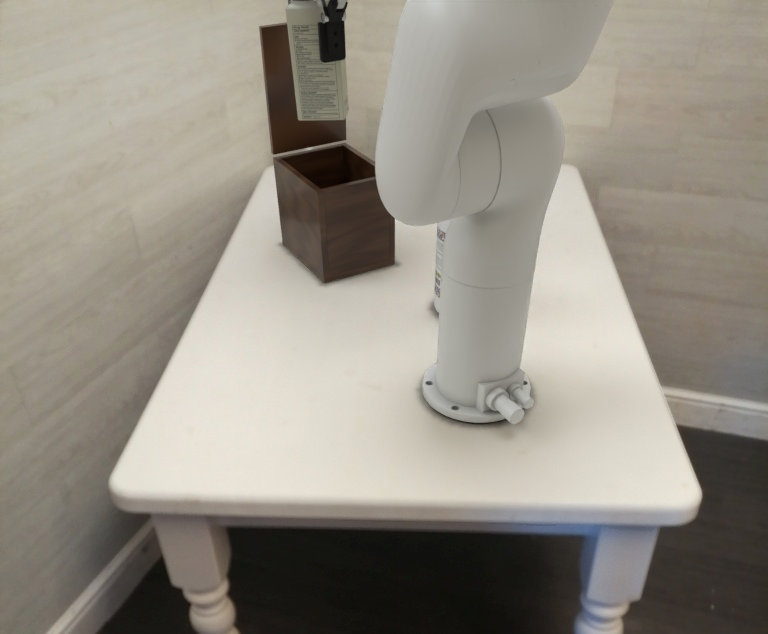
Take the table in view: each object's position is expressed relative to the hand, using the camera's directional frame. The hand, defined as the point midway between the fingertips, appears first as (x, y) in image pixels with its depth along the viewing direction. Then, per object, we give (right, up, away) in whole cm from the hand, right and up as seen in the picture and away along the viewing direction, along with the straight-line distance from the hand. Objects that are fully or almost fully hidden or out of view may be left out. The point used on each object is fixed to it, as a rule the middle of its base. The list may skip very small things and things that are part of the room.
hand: (318, 52), depth 88 cm
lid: (-3, +2, +11) cm, 12 cm away
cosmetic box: (0, -5, +5) cm, 7 cm away
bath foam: (+18, -28, +10) cm, 35 cm away
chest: (+1, -17, +22) cm, 28 cm away
